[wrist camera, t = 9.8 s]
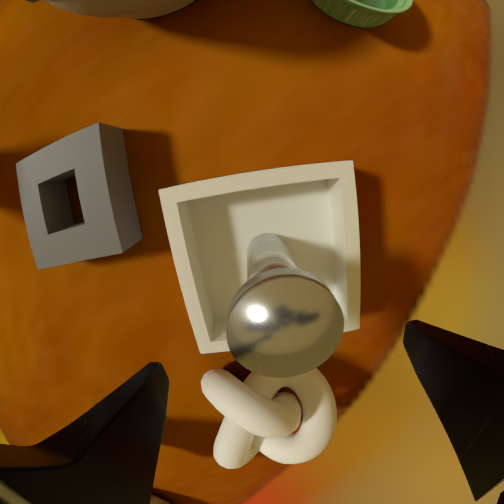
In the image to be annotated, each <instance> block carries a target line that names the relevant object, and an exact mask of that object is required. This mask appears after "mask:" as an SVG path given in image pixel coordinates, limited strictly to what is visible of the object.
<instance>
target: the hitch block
mask: <svg viewBox="0 0 504 504" xmlns="http://www.w3.org/2000/svg"><path fill="white" fill-rule="evenodd" d="M16 171H17V179H18V187H19V193H20V199H21V205H22V210H23V215H24V220H25V224H26V229H27V233H28V237H29V241H30V244H31V248H32V252H33V255H34V259H35V262H36V265H37V268H38V270H39V269H44V268H48V267H53V266H58V265H63V264H68V263H73V262H78V261H83V260H89V259H94V258H99V257H104V256H110V255H115V254H120V253H123V252H125V251H126V250H128V249H129V248H130V247H132V246H133V245H134V244H136V243H137V242H138V241H140V240H141V239H143V236H142V231H141V227H140V223H139V218H138V214H137V209H136V204H135V199H134V194H133V189H132V184H131V178H130V173H129V167H128V161H127V154H126V147H125V140H124V132H123V129H121V128H118V127H114V126H110V125H106V124H102V123H96V124H94V125H91V126H89V127H86V128H84V129H82V130H80V131H77V132H75V133H73V134H71V135H69V136H66V137H64V138H62V139H60V140H58V141H56V142H54V143H52V144H50V145H48V146H46V147H44V148H42V149H41V150H39V151H37V152H35V153H33V154H31V155H30V156H28V157H26V158H24V159H23V160H21V161H19V162H18V163H16ZM75 176H76V182H77V188H78V193H79V199H80V204H81V208H82V213H83V218H84V221H83V222H79V223H76V224H75V223H74V218H73V214H72V209H71V204H70V199H69V194H68V189H67V183H66V180H67V179H69V178H72V177H75Z"/></svg>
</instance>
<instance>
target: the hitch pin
mask: <svg viewBox="0 0 504 504" xmlns="http://www.w3.org/2000/svg"><path fill="white" fill-rule="evenodd" d="M343 331H344V317H343V312H342V309H341V307H340V305H339V303H338V302H337V300H336V299H335V297H334V295H333V294H332V292H331V291H330V289H329V288H328V286H327V285H326V284H325V283H324V282H323V281H322V280H321V279H320V278H318V277H317V276H315V275H314V274H312V273H309V272H307V271H304V270H301V269H298V267H297V265H296V263H295V261H294V259H293V257H292V255H291V253H290V251H289V249H288V247H287V245H286V243H285V242H284V240H283V239H282V238H281V237H279V236H278V235H276V234H273V233H263V234H260V235H258V236H256V237H254V238H253V239H252V240H251V242H250V243H249V245H248V248H247V282H246V283H245V284H243V285H242V286H241V288H240V289H239V290H238V291H237V292H236V294H235V295H234V297H233V299H232V301H231V304H230V307H229V312H228V319H227V328H226V339H227V344H228V347H229V349H230V351H231V353H232V355H233V356H234V358H235V359H236V360H237V361H238V362H239V363H240V364H241V365H242V366H243V367H245V368H246V369H248V370H250V371H251V372H254V373H256V374H259V375H262V376H267V377H274V378H286V377H293V376H297V375H301V374H304V373H306V372H309V371H311V370H313V369H315V368H316V367H318V366H320V365H321V364H322V363H324V362H325V361H326V360H327V359H328V358H329V357H330V356H331V355H332V354H333V353H334V351H335V350H336V348H337V347H338V345H339V343H340V341H341V338H342V335H343Z"/></svg>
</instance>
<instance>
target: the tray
mask: <svg viewBox="0 0 504 504" xmlns="http://www.w3.org/2000/svg"><path fill="white" fill-rule="evenodd" d="M158 191H159V196H160V201H161V206H162V211H163V216H164V220H165V225H166V229H167V234H168V238H169V243H170V247H171V251H172V255H173V259H174V263H175V267H176V271H177V275H178V279H179V283H180V286H181V290H182V294H183V297H184V301H185V304H186V308H187V311H188V315H189V318H190V322H191V325H192V328H193V331H194V335H195V338H196V341H197V344H198V347H199V350H200V353H201V354H203V353H214V352H224V351H230V349H229V347H228V344H227V339H226V328H227V319H228V312H229V307H230V304H231V301H232V299H233V297H234V295H235V294H236V292H237V291H238V290H239V289H240V288H241V286H242V285H243V284H245V283H246V282H247V248H248V245H249V243H250V242H251V240H252V239H253V238H254V237H256V236H258V235H260V234H263V233H273V234H276V235H278V236H279V237H281V238H282V239H283V240H284V242H285V243H286V245H287V247H288V249H289V251H290V253H291V255H292V257H293V259H294V261H295V263H296V265H297V267H298V269H301V270H304V271H307V272H309V273H312V274H314V275H315V276H317V277H318V278H320V279H321V280H322V281H323V282H324V283H325V284H326V285H327V286H328V288H329V289H330V291H331V292H332V294H333V295H334V297H335V299H336V300H337V302H338V303H339V305H340V307H341V309H342V312H343V317H344V331H343V332H347V331H351V330H356V329H359V327H360V293H361V272H360V238H359V220H358V206H357V194H356V184H355V175H354V166H353V161H336V162H324V163H314V164H305V165H296V166H288V167H280V168H272V169H265V170H258V171H252V172H245V173H239V174H233V175H227V176H222V177H216V178H211V179H205V180H200V181H195V182H190V183H185V184H181V185H176V186H172V187H168V188H164V189H160V190H158Z"/></svg>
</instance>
